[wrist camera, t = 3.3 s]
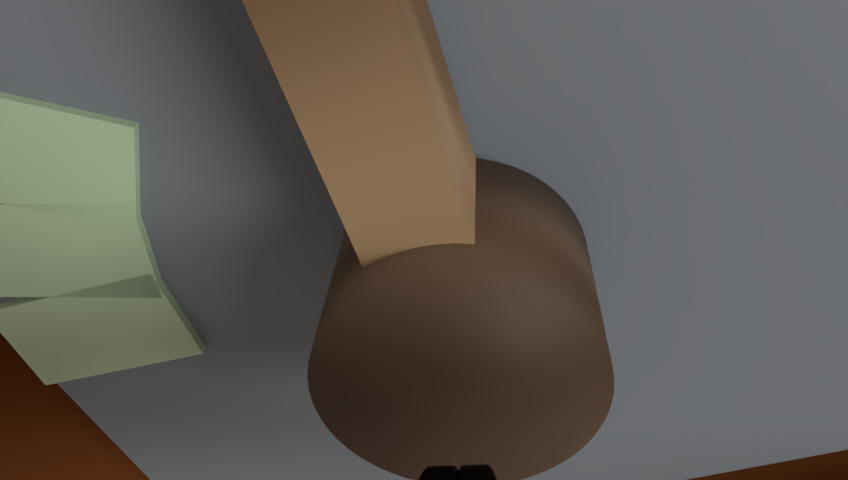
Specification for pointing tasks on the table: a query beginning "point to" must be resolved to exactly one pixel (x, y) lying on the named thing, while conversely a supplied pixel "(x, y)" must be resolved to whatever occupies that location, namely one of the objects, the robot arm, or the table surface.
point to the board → (491, 140)
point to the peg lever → (434, 258)
